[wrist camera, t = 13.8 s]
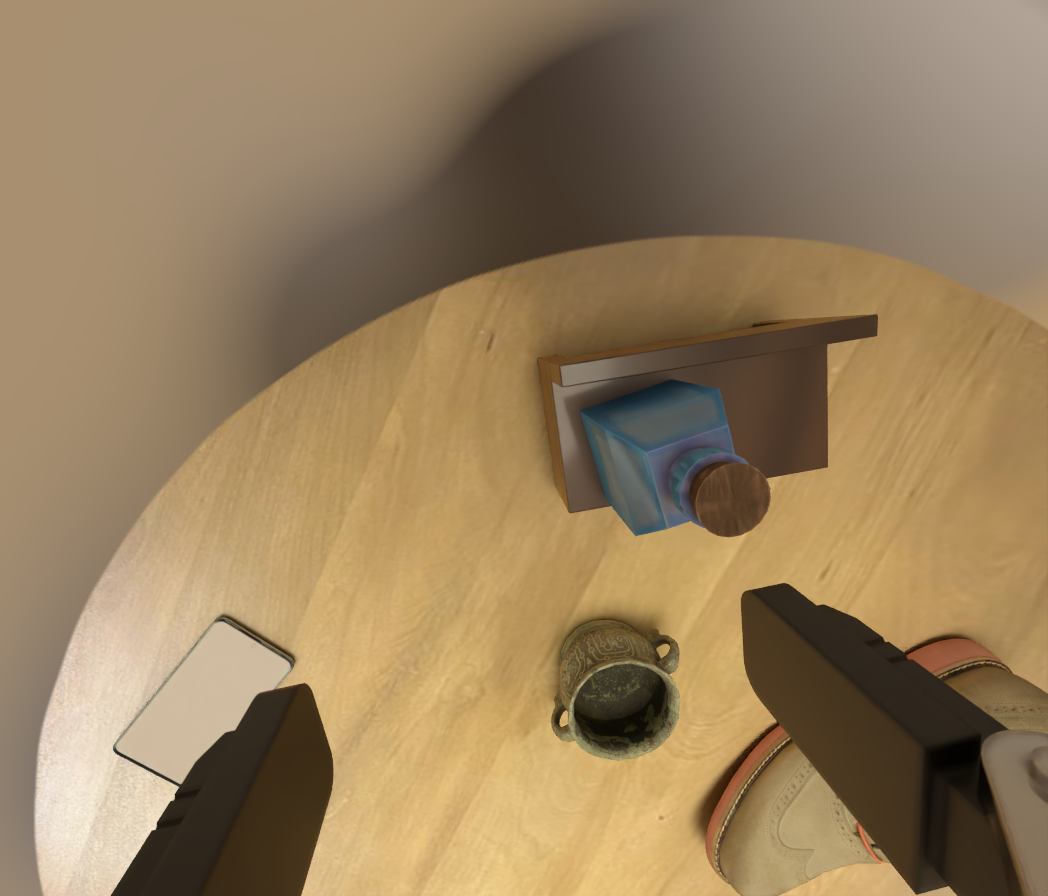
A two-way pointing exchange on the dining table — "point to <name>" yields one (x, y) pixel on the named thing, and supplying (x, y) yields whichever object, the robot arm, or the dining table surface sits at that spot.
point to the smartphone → (202, 700)
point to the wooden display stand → (714, 361)
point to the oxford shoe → (811, 805)
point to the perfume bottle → (674, 461)
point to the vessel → (616, 690)
